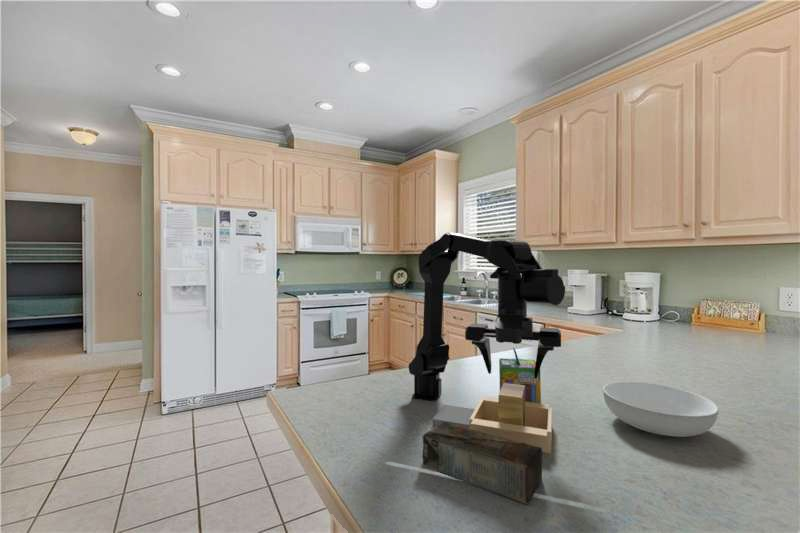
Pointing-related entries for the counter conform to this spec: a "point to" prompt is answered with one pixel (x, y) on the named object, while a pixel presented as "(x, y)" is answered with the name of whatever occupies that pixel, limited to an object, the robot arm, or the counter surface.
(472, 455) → the beverage carton
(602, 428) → the counter surface
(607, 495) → the counter surface
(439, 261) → the robot arm
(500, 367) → the chalk box
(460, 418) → the trivet
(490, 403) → the wooden tray
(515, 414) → the brown wooden block
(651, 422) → the serving bowl
